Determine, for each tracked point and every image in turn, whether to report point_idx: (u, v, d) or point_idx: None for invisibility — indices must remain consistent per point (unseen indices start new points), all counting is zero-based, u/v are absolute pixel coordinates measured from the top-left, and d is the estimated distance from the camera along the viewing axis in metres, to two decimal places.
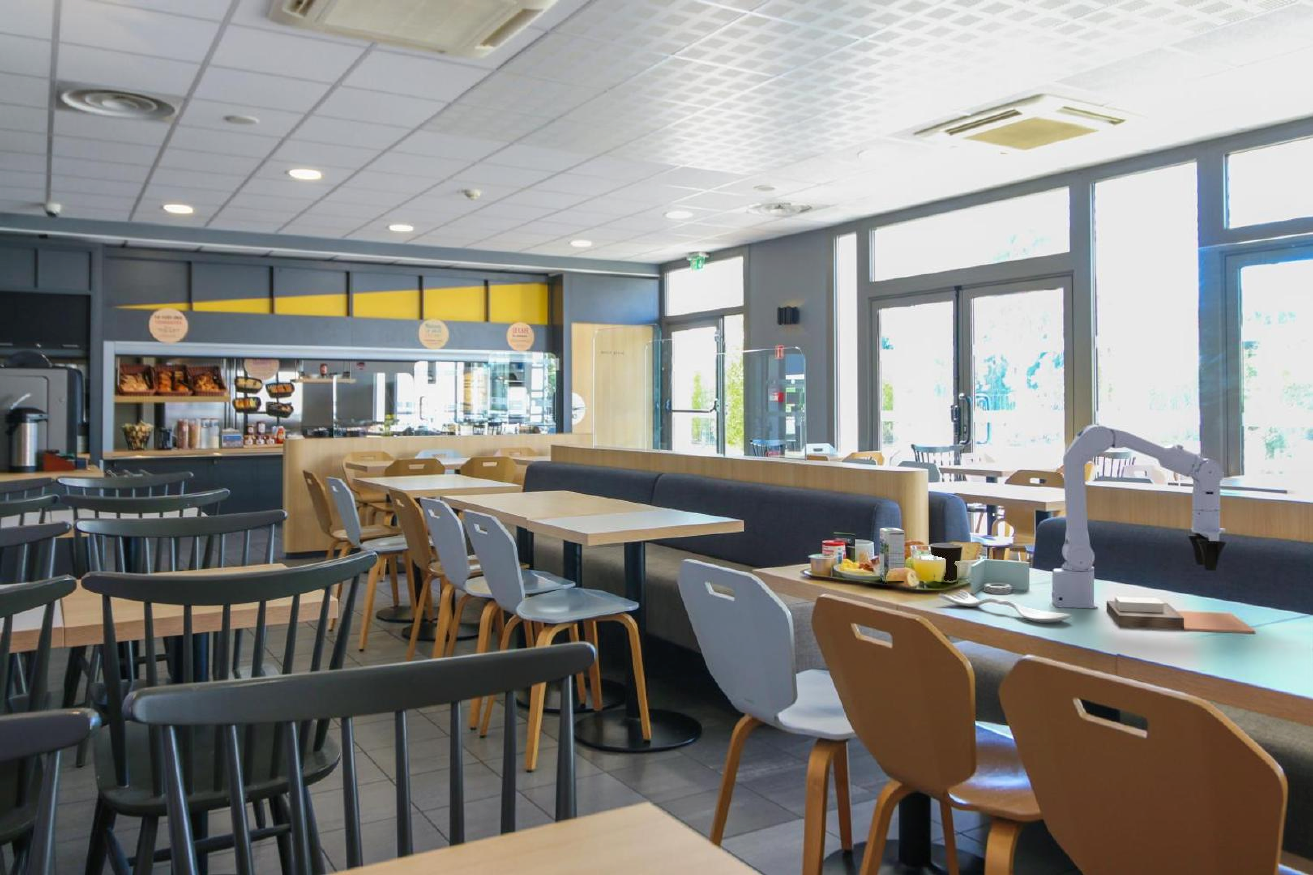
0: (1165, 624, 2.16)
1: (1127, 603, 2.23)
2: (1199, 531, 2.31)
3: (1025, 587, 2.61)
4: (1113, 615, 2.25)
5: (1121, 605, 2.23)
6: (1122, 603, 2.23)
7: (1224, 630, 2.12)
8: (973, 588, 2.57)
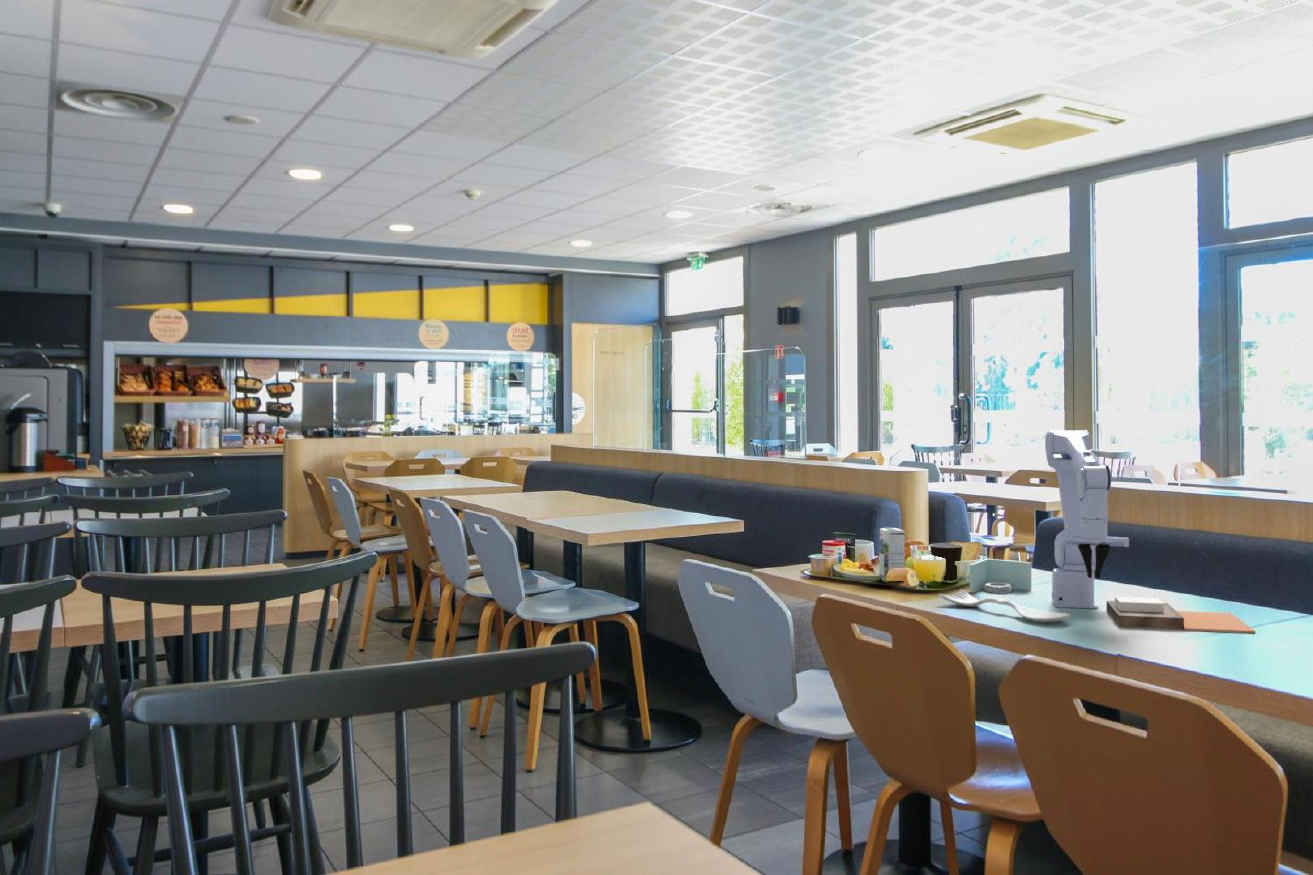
0: (1165, 624, 2.16)
1: (1127, 603, 2.23)
2: None
3: (1026, 587, 2.61)
4: (1113, 615, 2.25)
5: (1121, 605, 2.23)
6: (1122, 603, 2.23)
7: (1224, 630, 2.12)
8: (972, 587, 2.59)
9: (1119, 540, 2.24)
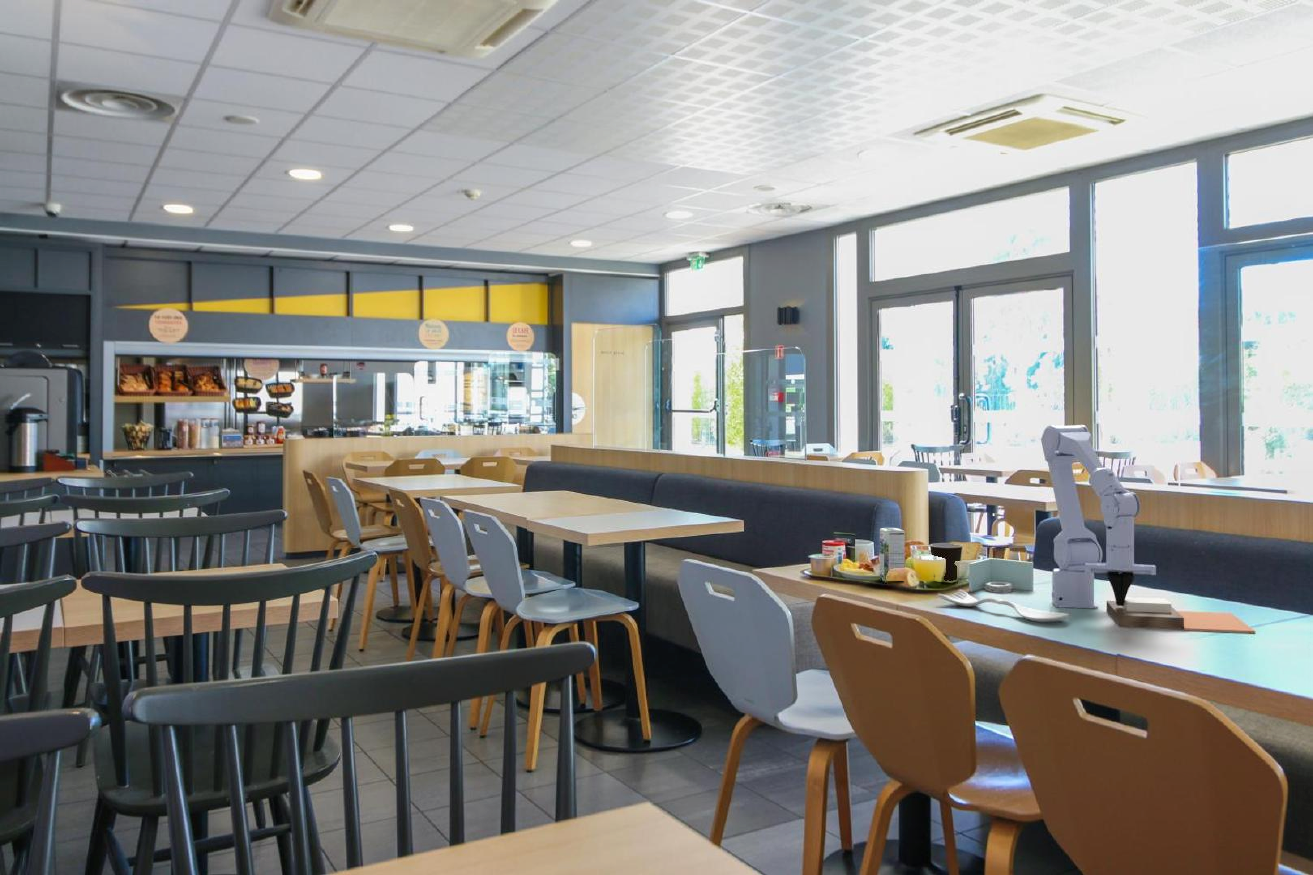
0: (1165, 624, 2.16)
1: (1134, 603, 2.22)
2: None
3: (1028, 587, 2.61)
4: (1113, 615, 2.25)
5: (1128, 605, 2.23)
6: (1129, 603, 2.23)
7: (1224, 630, 2.12)
8: (971, 586, 2.61)
9: (1146, 568, 2.23)
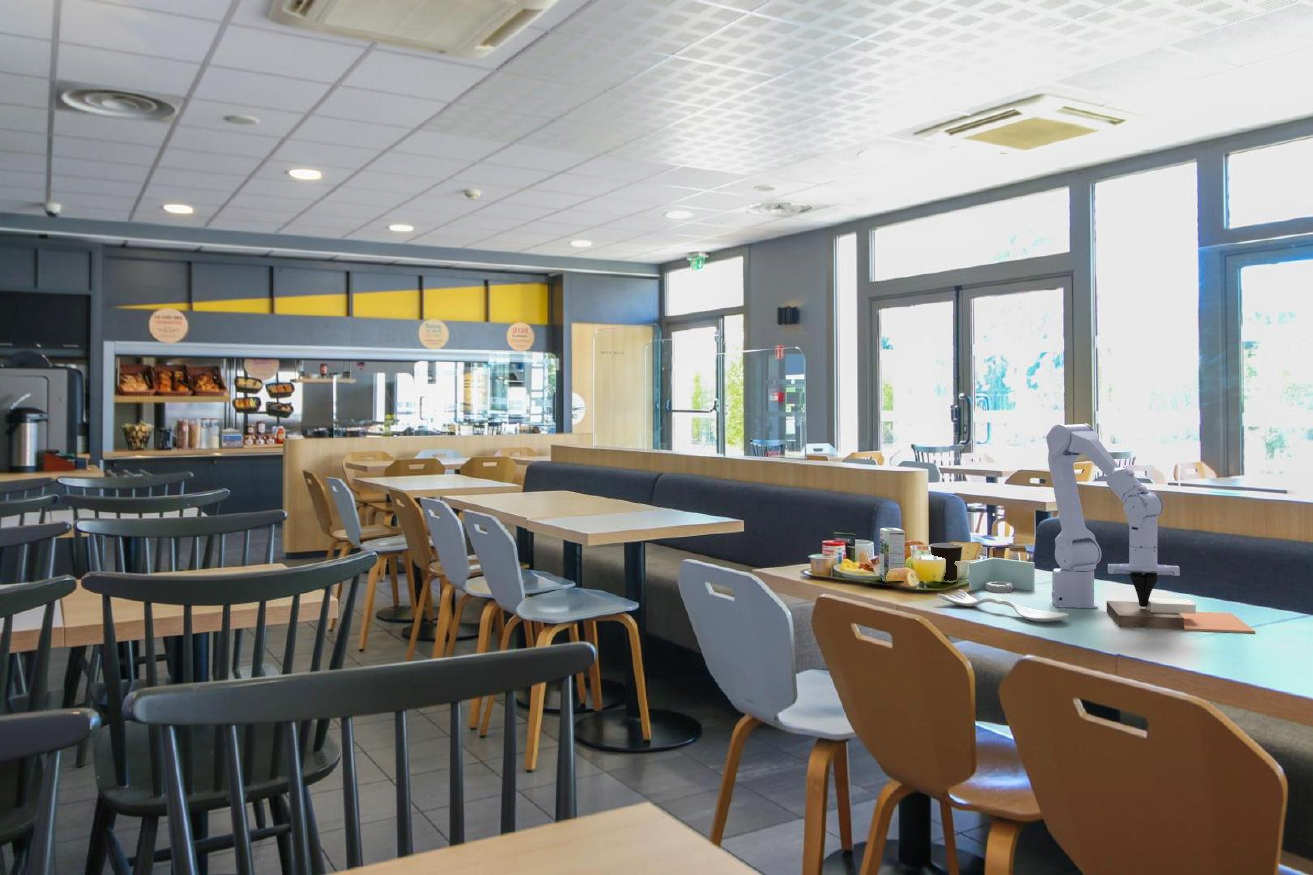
0: (1165, 624, 2.16)
1: (1158, 604, 2.21)
2: None
3: (1029, 587, 2.61)
4: (1113, 615, 2.25)
5: (1152, 606, 2.21)
6: (1153, 604, 2.21)
7: (1224, 630, 2.12)
8: (971, 585, 2.61)
9: (1169, 569, 2.22)
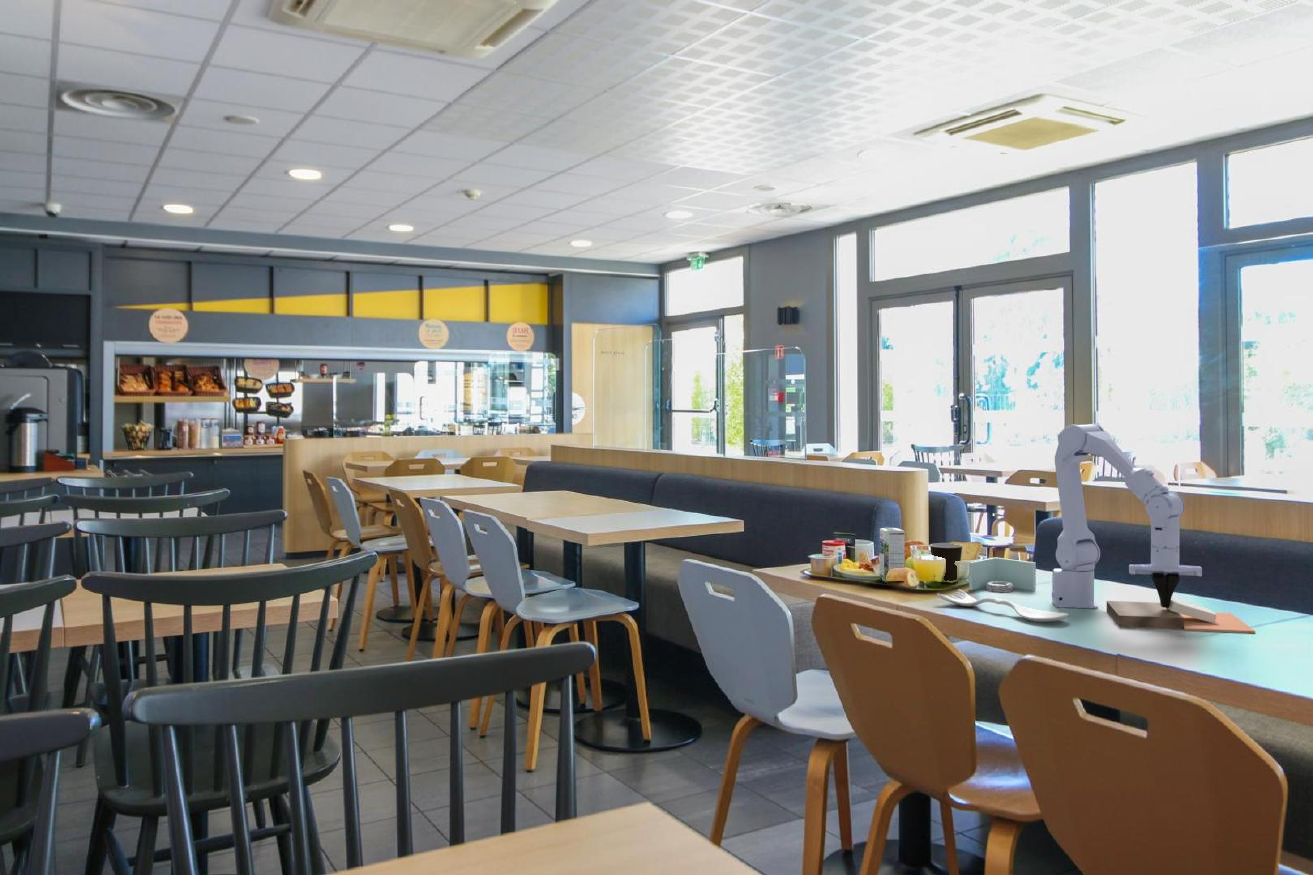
0: (1165, 624, 2.16)
1: (1180, 605, 2.20)
2: None
3: (1030, 587, 2.61)
4: (1113, 615, 2.25)
5: (1174, 606, 2.20)
6: (1175, 604, 2.20)
7: (1224, 630, 2.12)
8: (971, 584, 2.62)
9: (1192, 569, 2.20)
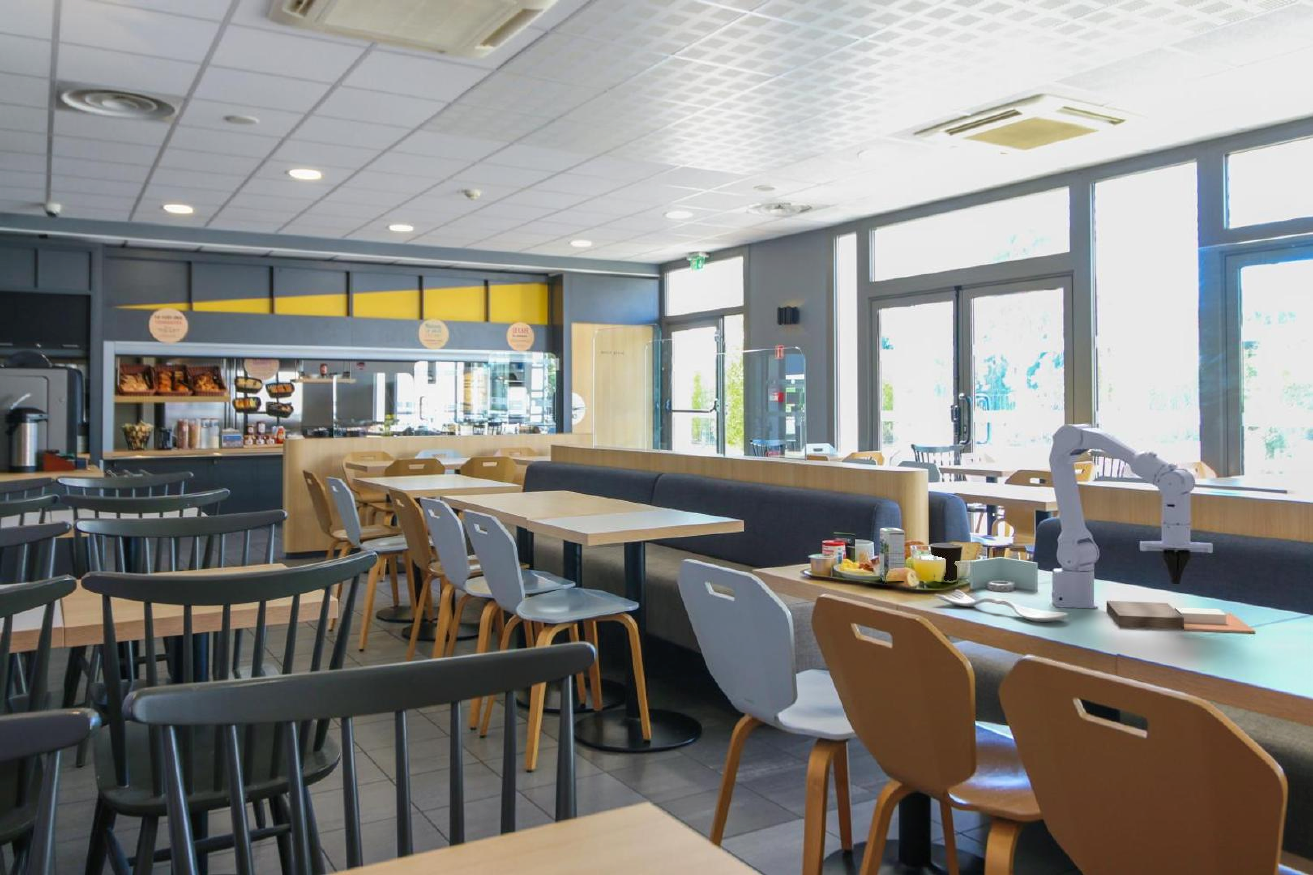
0: (1165, 624, 2.16)
1: (1189, 614, 2.20)
2: None
3: (1032, 587, 2.61)
4: (1113, 615, 2.25)
5: (1182, 616, 2.20)
6: (1183, 614, 2.20)
7: (1224, 630, 2.12)
8: (972, 583, 2.64)
9: (1203, 546, 2.20)
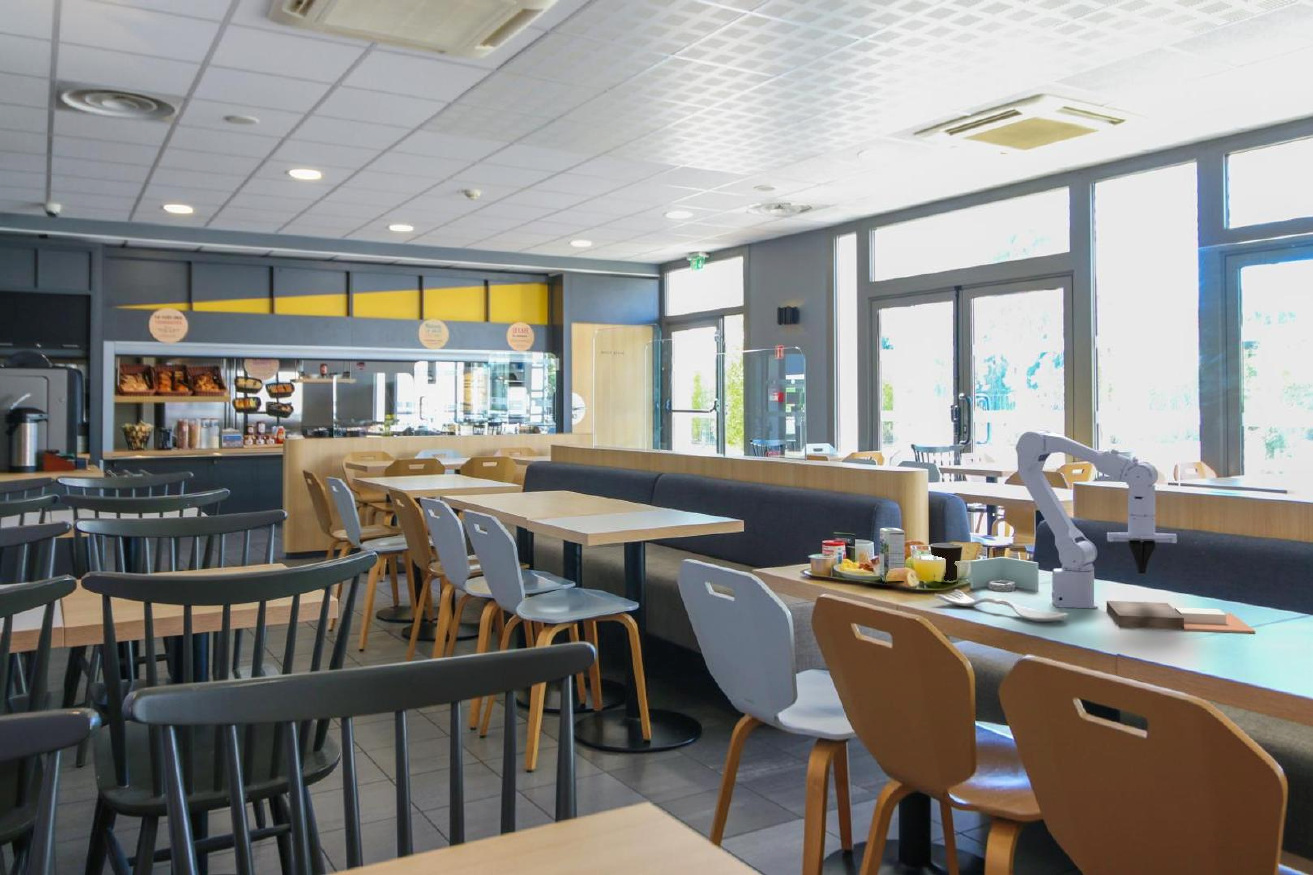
0: (1165, 624, 2.16)
1: (1189, 614, 2.20)
2: None
3: (1033, 587, 2.61)
4: (1113, 615, 2.25)
5: (1182, 616, 2.20)
6: (1183, 614, 2.20)
7: (1224, 630, 2.12)
8: (972, 583, 2.64)
9: (1167, 536, 2.29)
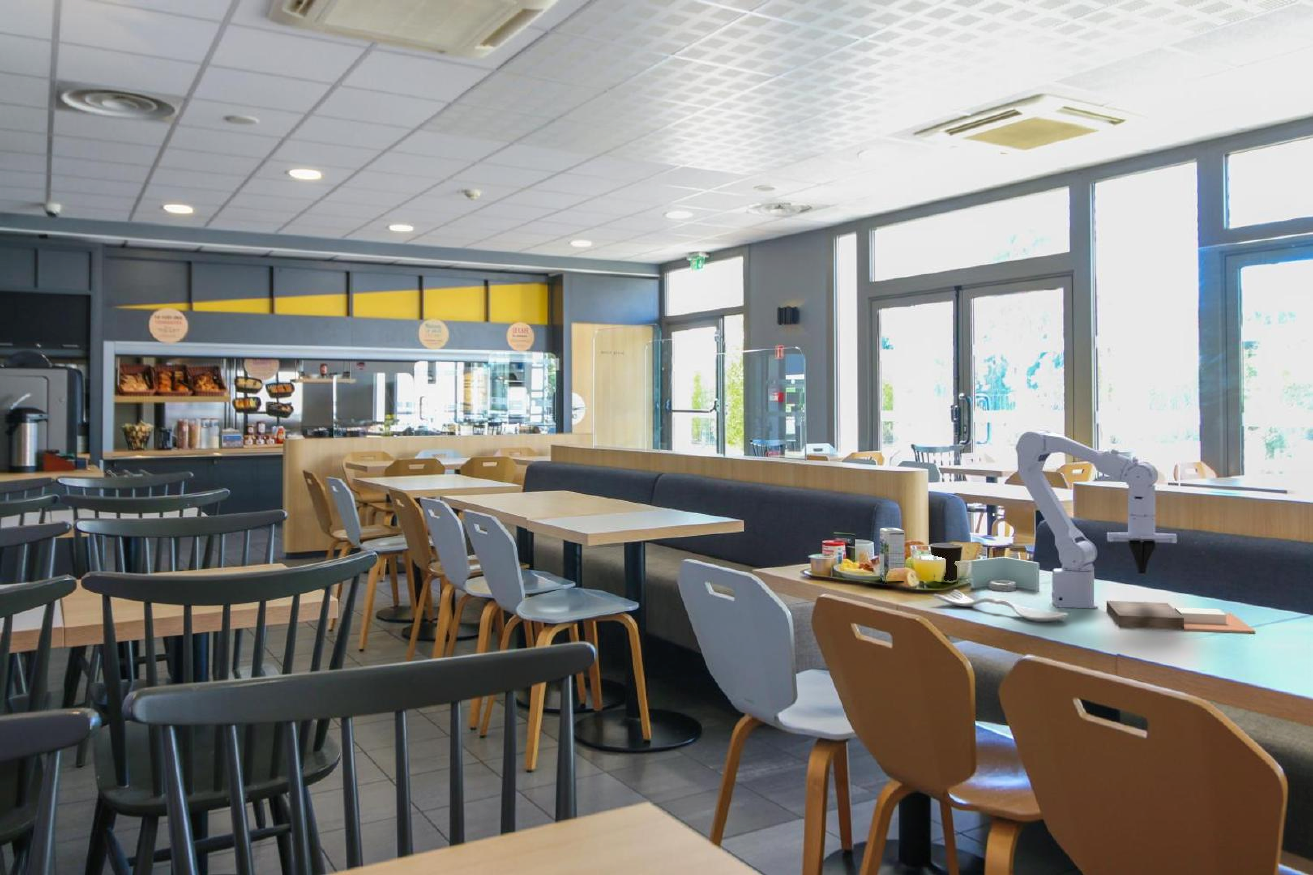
0: (1165, 624, 2.16)
1: (1189, 614, 2.20)
2: None
3: (1033, 587, 2.61)
4: (1113, 615, 2.25)
5: (1182, 616, 2.20)
6: (1183, 614, 2.20)
7: (1224, 630, 2.12)
8: (973, 582, 2.65)
9: (1167, 536, 2.29)
